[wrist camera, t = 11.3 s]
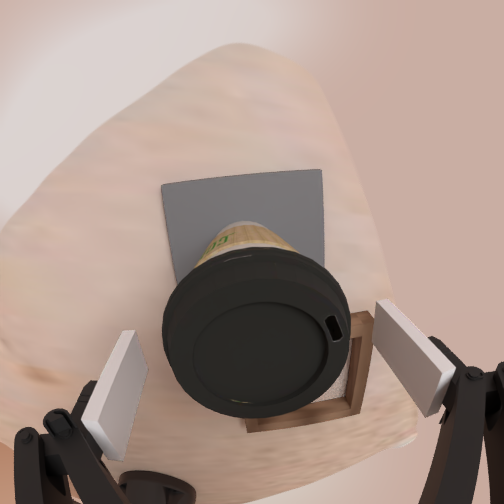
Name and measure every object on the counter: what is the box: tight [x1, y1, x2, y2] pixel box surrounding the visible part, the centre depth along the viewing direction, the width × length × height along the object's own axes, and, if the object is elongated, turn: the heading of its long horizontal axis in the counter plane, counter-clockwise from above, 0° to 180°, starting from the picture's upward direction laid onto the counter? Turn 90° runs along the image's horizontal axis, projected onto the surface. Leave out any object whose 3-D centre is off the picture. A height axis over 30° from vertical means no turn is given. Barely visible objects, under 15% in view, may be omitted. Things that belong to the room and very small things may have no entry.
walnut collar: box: [245, 311, 374, 433], centre depth 33 cm, size 15×15×2 cm
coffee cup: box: [162, 221, 351, 419], centre depth 20 cm, size 10×10×15 cm
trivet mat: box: [161, 169, 324, 285], centre depth 28 cm, size 14×14×1 cm
